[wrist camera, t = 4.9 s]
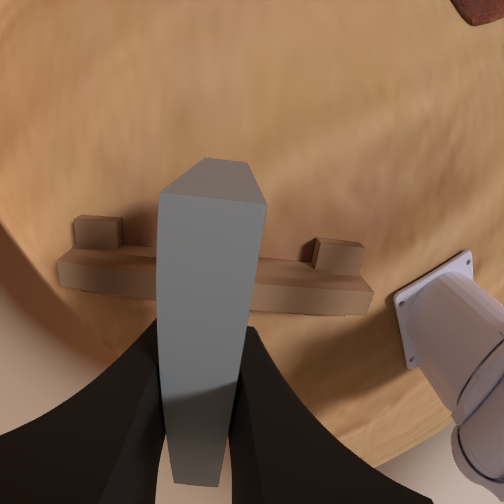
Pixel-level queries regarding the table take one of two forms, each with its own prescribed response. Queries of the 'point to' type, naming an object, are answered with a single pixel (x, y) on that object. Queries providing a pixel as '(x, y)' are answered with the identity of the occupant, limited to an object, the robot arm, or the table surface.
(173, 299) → the grey long rectangular block
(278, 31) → the table surface
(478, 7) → the wooden tablet
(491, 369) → the robot arm
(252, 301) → the walnut slotted stand
